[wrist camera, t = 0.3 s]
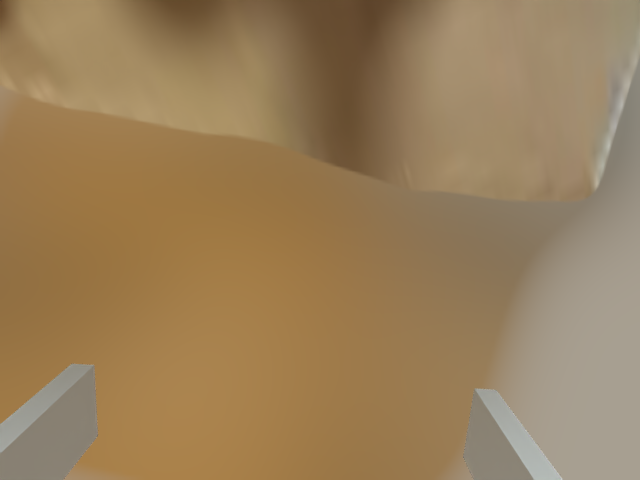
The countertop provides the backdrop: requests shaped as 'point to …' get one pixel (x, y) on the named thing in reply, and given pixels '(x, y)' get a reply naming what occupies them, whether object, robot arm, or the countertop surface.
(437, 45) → the countertop surface
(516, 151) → the countertop surface
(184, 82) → the countertop surface
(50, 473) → the robot arm
